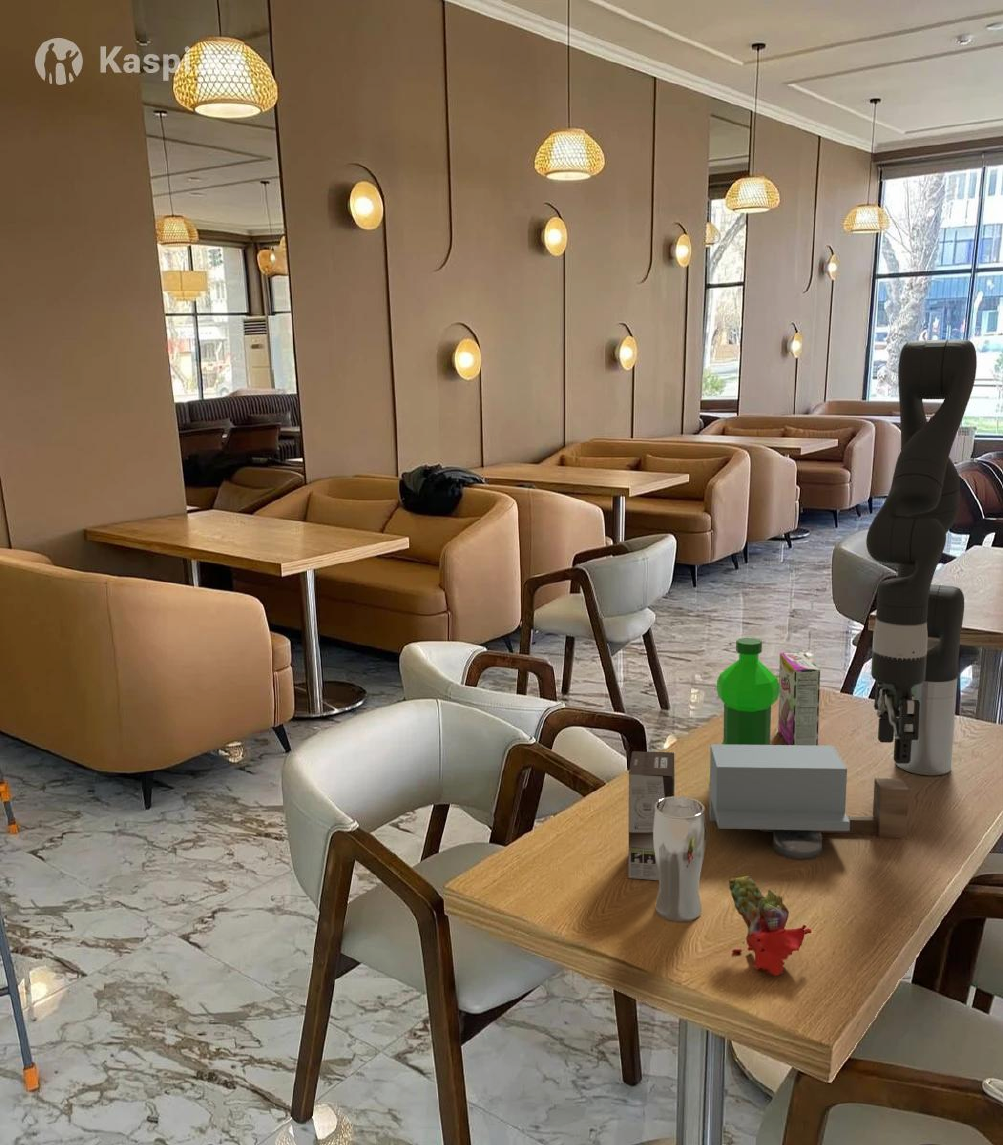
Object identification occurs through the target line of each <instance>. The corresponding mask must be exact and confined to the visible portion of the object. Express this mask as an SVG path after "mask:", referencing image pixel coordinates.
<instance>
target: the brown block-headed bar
mask: <svg viewBox="0 0 1003 1145" xmlns="http://www.w3.org/2000/svg"><path fill="white" fill-rule="evenodd" d="M909 796H910V789H909V787H908V786H907V785H906V783H905V782H904V781H903V779H902V778H887V777H886V778H874V784H873V804H872V805H873V806H872V816H849V815H847V817H848V819H849V821H850V831H823V830H817V831H819V832H820V833H824V834H825V833H827V834H829V833H830V834H832V833H834V834H835V833H836V834H837V833H838V834H873V835H874V834H876V836H878V838H879V839H907V832H908V829H907V828H908V814H909V812H908V811H909ZM760 832H773V833H774V830H771V829H760Z"/></svg>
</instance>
